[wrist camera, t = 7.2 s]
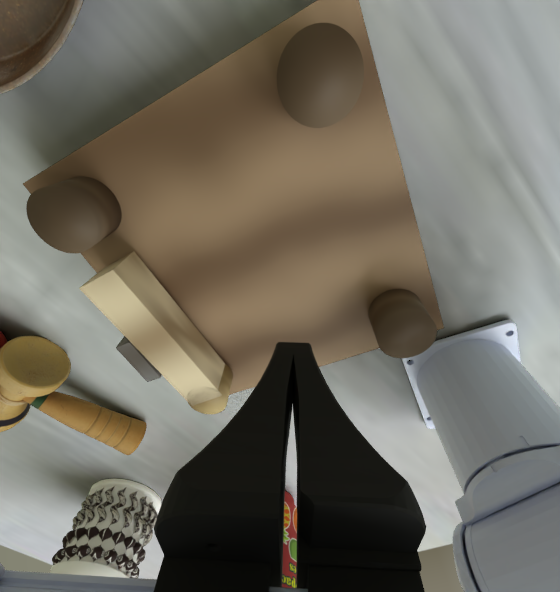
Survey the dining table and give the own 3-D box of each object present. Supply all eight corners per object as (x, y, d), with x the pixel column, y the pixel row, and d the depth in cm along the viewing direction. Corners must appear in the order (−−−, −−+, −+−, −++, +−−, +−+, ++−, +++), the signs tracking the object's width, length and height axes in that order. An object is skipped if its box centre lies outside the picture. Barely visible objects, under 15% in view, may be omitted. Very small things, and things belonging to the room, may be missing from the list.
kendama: (173, 390, 30) (-49, 278, 22) (148, 462, 25) (-147, 355, 17) (133, 412, 34) (-67, 324, 26) (105, 477, 29) (-150, 396, 21)
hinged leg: (240, 380, 23) (234, 407, 21) (210, 391, 24) (202, 418, 22) (135, 250, 18) (114, 268, 16) (101, 269, 19) (77, 289, 17)
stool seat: (429, 306, 22) (464, 358, 18) (212, 378, 27) (195, 433, 22) (344, -3, 14) (366, -54, 10) (53, 175, 19) (-24, 196, 14)
